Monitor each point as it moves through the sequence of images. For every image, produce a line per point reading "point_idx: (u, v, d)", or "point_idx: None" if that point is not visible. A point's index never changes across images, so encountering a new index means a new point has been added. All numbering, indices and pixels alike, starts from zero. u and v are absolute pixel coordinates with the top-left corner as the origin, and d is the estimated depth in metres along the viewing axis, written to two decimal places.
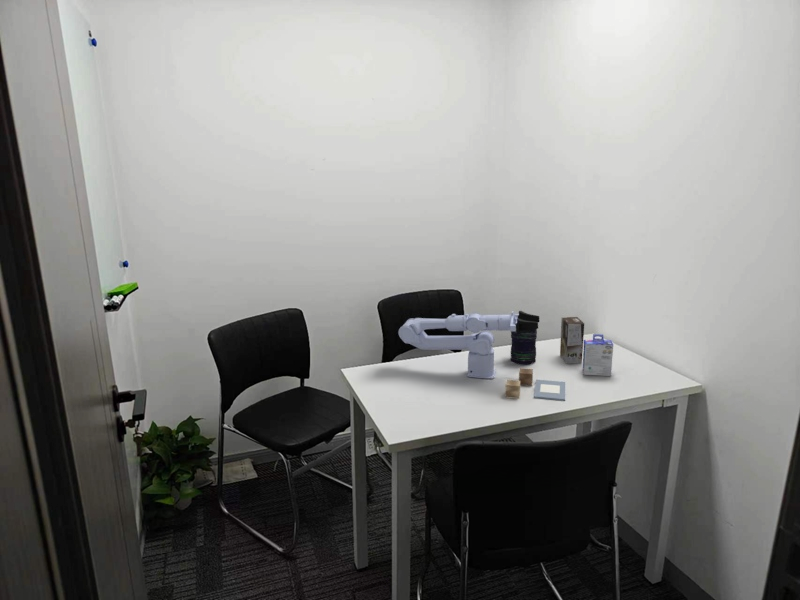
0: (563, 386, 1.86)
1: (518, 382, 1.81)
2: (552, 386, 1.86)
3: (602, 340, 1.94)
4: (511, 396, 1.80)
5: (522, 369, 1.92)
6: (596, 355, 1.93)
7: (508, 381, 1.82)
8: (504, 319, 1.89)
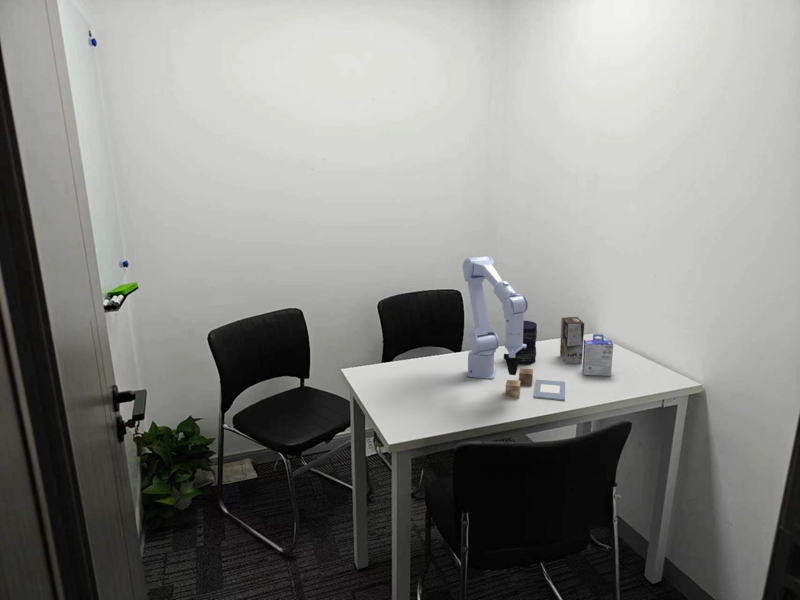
0: (563, 386, 1.86)
1: (518, 382, 1.81)
2: (552, 386, 1.86)
3: (602, 340, 1.94)
4: (511, 396, 1.80)
5: (522, 369, 1.92)
6: (596, 355, 1.93)
7: (508, 381, 1.82)
8: (519, 339, 1.74)
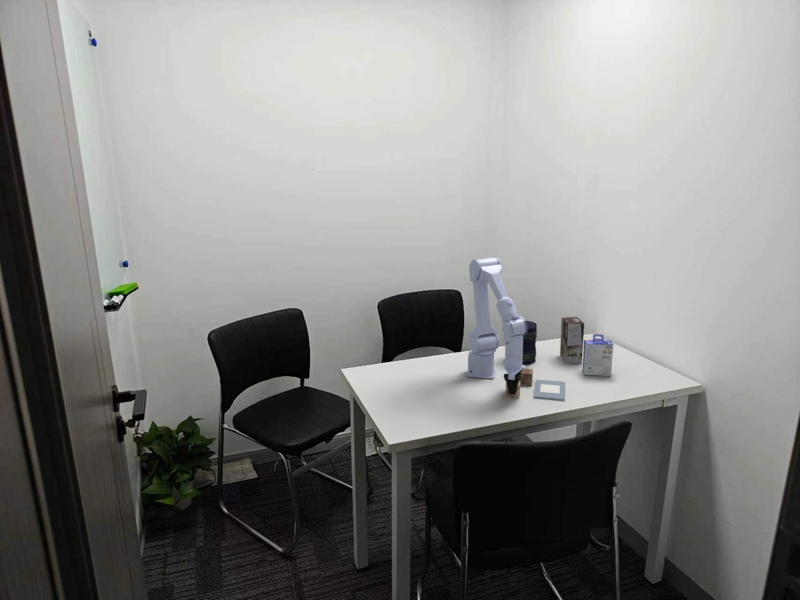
0: (563, 386, 1.86)
1: None
2: (552, 386, 1.86)
3: (602, 340, 1.94)
4: (511, 396, 1.80)
5: None
6: (596, 355, 1.93)
7: None
8: (519, 361, 1.76)
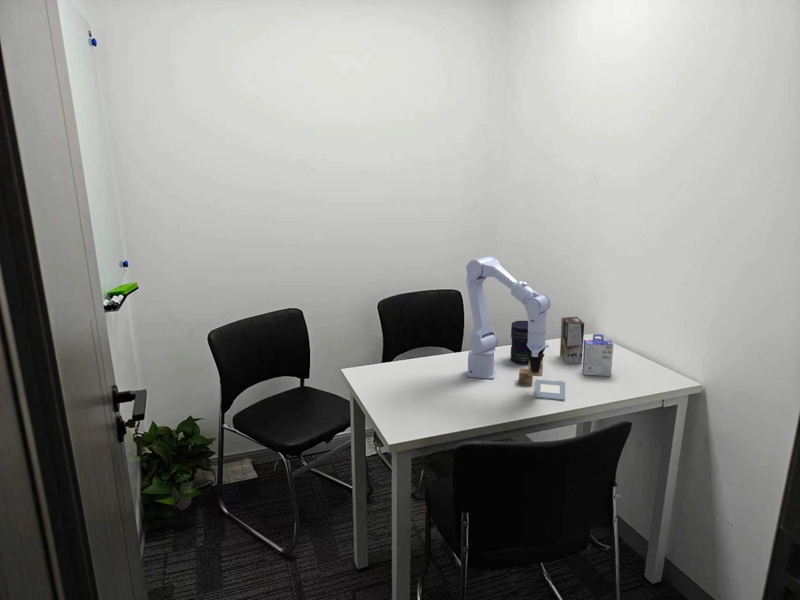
0: (563, 386, 1.86)
1: None
2: (552, 386, 1.86)
3: (602, 340, 1.94)
4: (534, 374, 1.79)
5: (522, 369, 1.92)
6: (596, 355, 1.93)
7: None
8: (542, 339, 1.75)
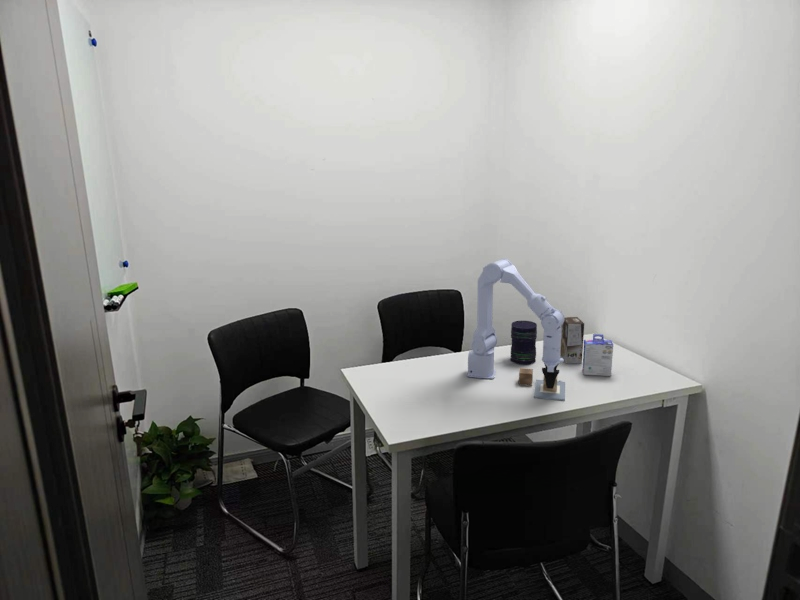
0: (563, 386, 1.86)
1: None
2: None
3: (602, 340, 1.94)
4: (549, 390, 1.82)
5: (522, 369, 1.92)
6: (596, 355, 1.93)
7: None
8: (557, 354, 1.78)
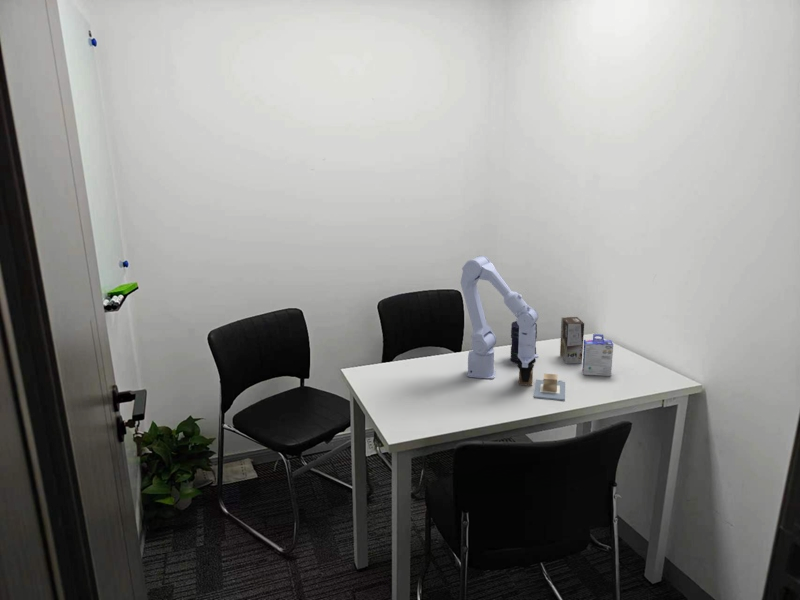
0: (563, 386, 1.86)
1: (555, 376, 1.83)
2: None
3: (602, 340, 1.94)
4: (549, 390, 1.82)
5: None
6: (596, 355, 1.93)
7: (545, 375, 1.84)
8: (532, 350, 1.85)
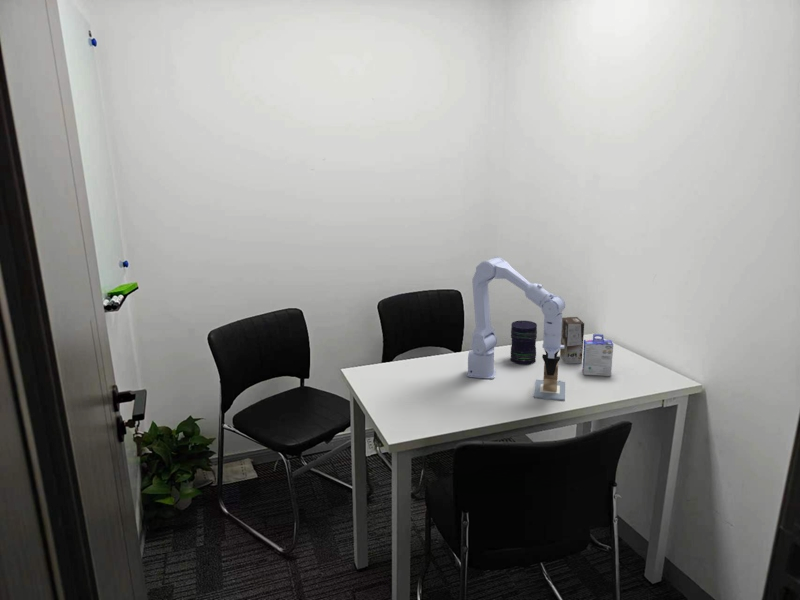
0: (563, 386, 1.86)
1: None
2: None
3: (602, 340, 1.94)
4: (549, 390, 1.82)
5: None
6: (596, 355, 1.93)
7: None
8: (558, 340, 1.77)
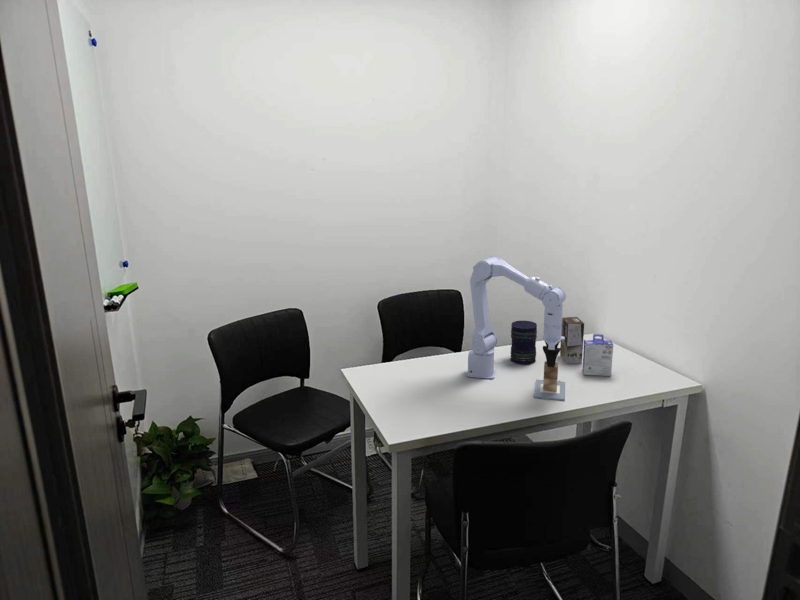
0: (563, 386, 1.86)
1: None
2: None
3: (602, 340, 1.94)
4: (549, 390, 1.82)
5: None
6: (596, 355, 1.93)
7: None
8: (558, 332, 1.76)
